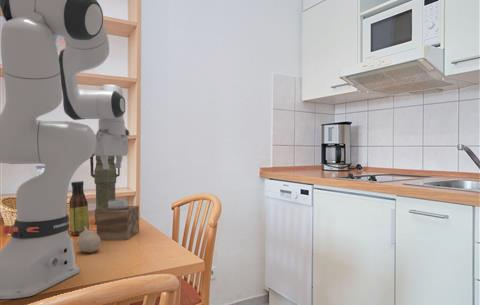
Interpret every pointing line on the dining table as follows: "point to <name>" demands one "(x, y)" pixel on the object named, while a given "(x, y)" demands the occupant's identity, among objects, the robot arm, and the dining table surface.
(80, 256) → the dining table surface
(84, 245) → the garlic bulb
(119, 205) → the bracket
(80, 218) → the sauce bottle
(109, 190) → the thermos
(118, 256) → the dining table surface
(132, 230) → the striped wooden crate
